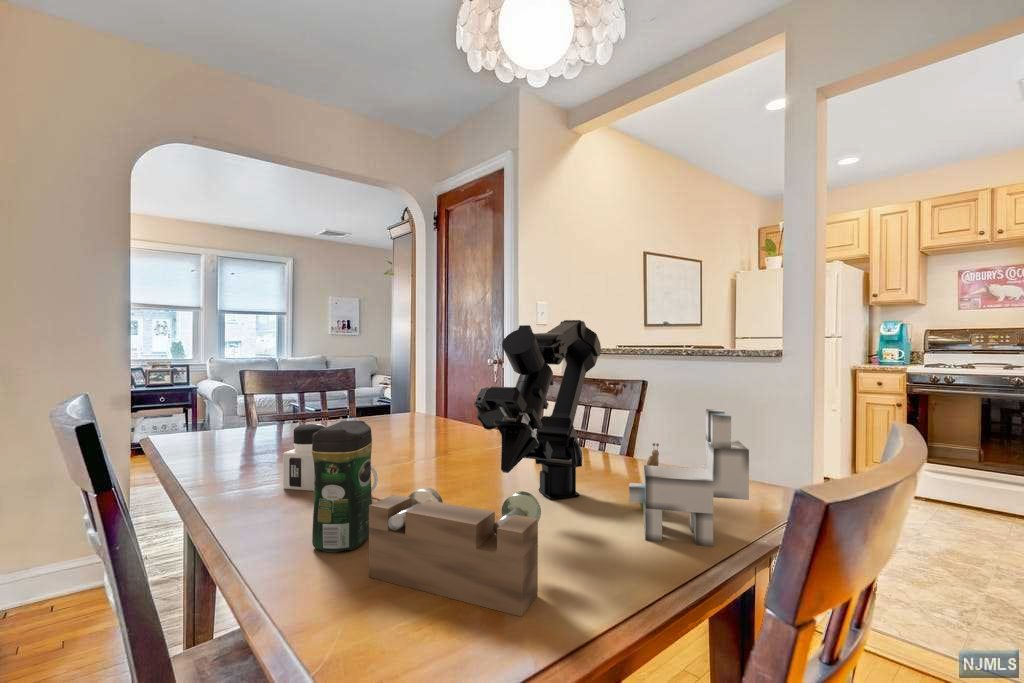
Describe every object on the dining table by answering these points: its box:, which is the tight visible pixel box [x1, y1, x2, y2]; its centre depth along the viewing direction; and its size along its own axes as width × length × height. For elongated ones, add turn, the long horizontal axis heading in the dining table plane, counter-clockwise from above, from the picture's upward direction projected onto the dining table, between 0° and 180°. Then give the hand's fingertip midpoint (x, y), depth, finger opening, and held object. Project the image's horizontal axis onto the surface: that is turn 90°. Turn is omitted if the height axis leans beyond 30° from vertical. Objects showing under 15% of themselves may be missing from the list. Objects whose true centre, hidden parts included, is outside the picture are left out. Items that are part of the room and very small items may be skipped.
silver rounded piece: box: [388, 487, 444, 531], centre depth 66 cm, size 8×5×5 cm, turn 155°
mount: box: [368, 494, 539, 617], centre depth 63 cm, size 5×22×10 cm, turn 65°
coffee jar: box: [311, 420, 373, 553], centre depth 77 cm, size 10×8×19 cm
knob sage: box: [493, 491, 542, 535], centre depth 64 cm, size 8×5×5 cm, turn 155°
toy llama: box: [628, 408, 750, 547], centre depth 80 cm, size 8×18×20 cm, turn 77°
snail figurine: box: [638, 442, 660, 510], centre depth 91 cm, size 5×6×12 cm
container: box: [282, 423, 327, 492], centre depth 106 cm, size 8×8×13 cm
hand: (504, 471), depth 77 cm, fingers closed
